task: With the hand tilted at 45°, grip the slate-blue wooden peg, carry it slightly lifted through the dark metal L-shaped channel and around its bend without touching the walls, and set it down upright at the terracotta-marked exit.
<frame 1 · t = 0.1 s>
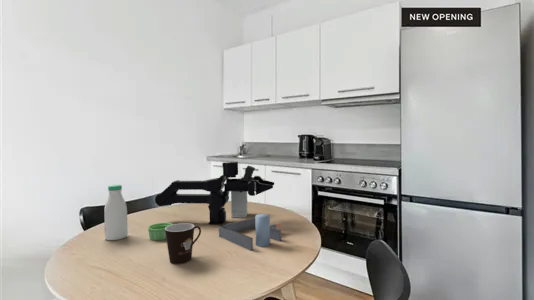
hand: (273, 185, 127), 17 cm above the table, tool horizontal, fingers open, 9 cm apart
coffee mug: (185, 259, 89), on the table
ramekin: (160, 237, 111), on the table
supplement box: (239, 216, 141), on the table
bent channel: (244, 236, 109), on the table
slate peg: (263, 244, 101), on the table
milk bottle: (116, 237, 111), on the table
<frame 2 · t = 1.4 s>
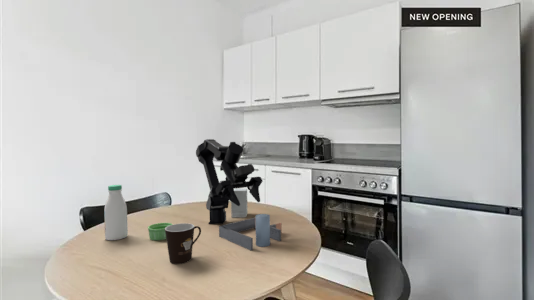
hand: (249, 203, 106), 13 cm above the table, tool tilted 45°, fingers open, 9 cm apart
nothing on the table moved.
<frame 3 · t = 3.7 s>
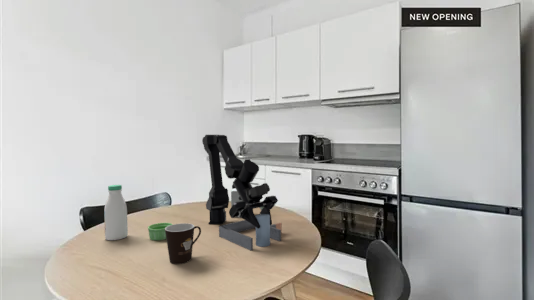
hand: (265, 226, 100), 7 cm above the table, tool tilted 45°, fingers closed on slate peg, 5 cm apart
slate peg: (263, 244, 101), on the table, touching gripper
everything else where it was.
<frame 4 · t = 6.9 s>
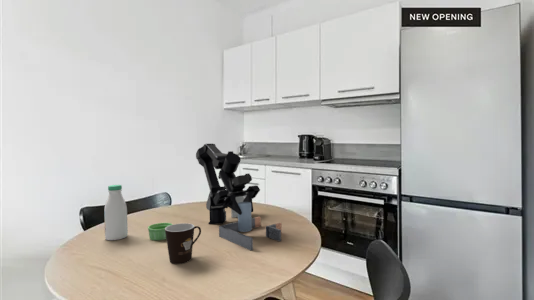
hand: (246, 212, 107), 9 cm above the table, tool tilted 45°, fingers closed on slate peg, 5 cm apart
slate peg: (244, 229, 109), point 3 cm above the table, touching gripper
everything else where it was.
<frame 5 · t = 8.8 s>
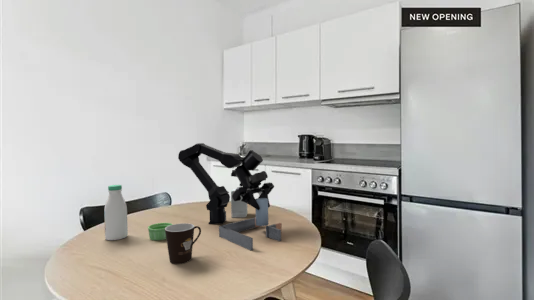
hand: (264, 208, 114), 10 cm above the table, tool tilted 45°, fingers closed on slate peg, 5 cm apart
slate peg: (262, 224, 115), point 3 cm above the table, touching gripper
everything else where it was.
when the fingers open (8 cm above the table, at t = 10.5 s): slate peg drops 1 cm, on the table.
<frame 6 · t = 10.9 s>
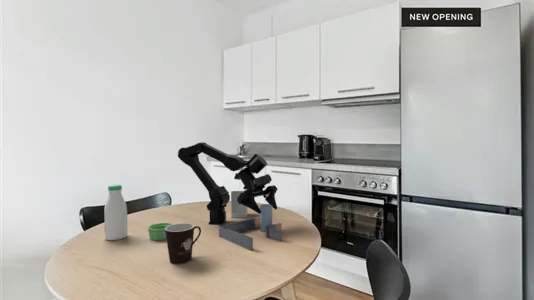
hand: (268, 211, 115), 8 cm above the table, tool tilted 45°, fingers open, 9 cm apart
slate peg: (266, 230, 116), on the table
everything else where it was.
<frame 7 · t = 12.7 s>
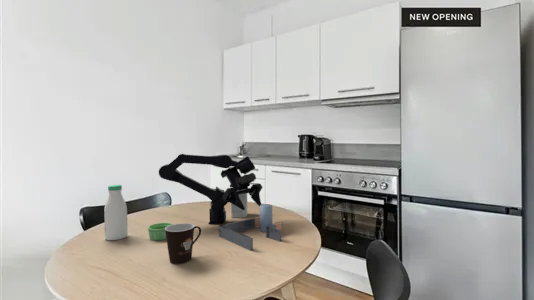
hand: (252, 207, 121), 8 cm above the table, tool tilted 45°, fingers open, 9 cm apart
nothing on the table moved.
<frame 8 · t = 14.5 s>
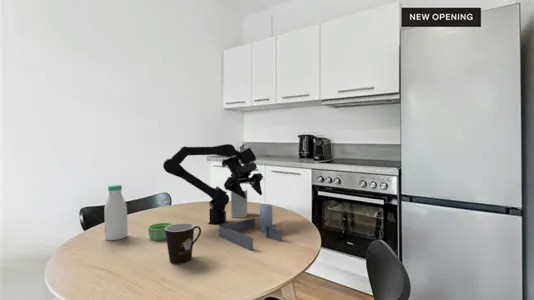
hand: (253, 196, 123), 13 cm above the table, tool tilted 45°, fingers open, 9 cm apart
nothing on the table moved.
at the end: slate peg 0.1 cm from the target spot, on the table; slate peg tilted 0°; slate peg touching table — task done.
